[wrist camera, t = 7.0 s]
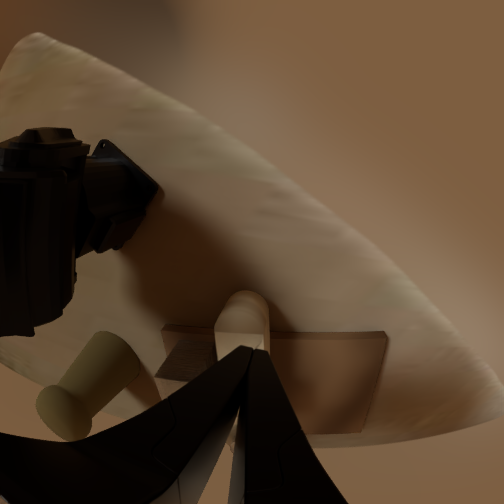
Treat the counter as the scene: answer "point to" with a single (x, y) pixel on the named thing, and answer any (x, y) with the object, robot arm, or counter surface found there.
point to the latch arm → (242, 328)
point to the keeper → (185, 367)
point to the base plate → (316, 373)
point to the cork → (88, 386)
